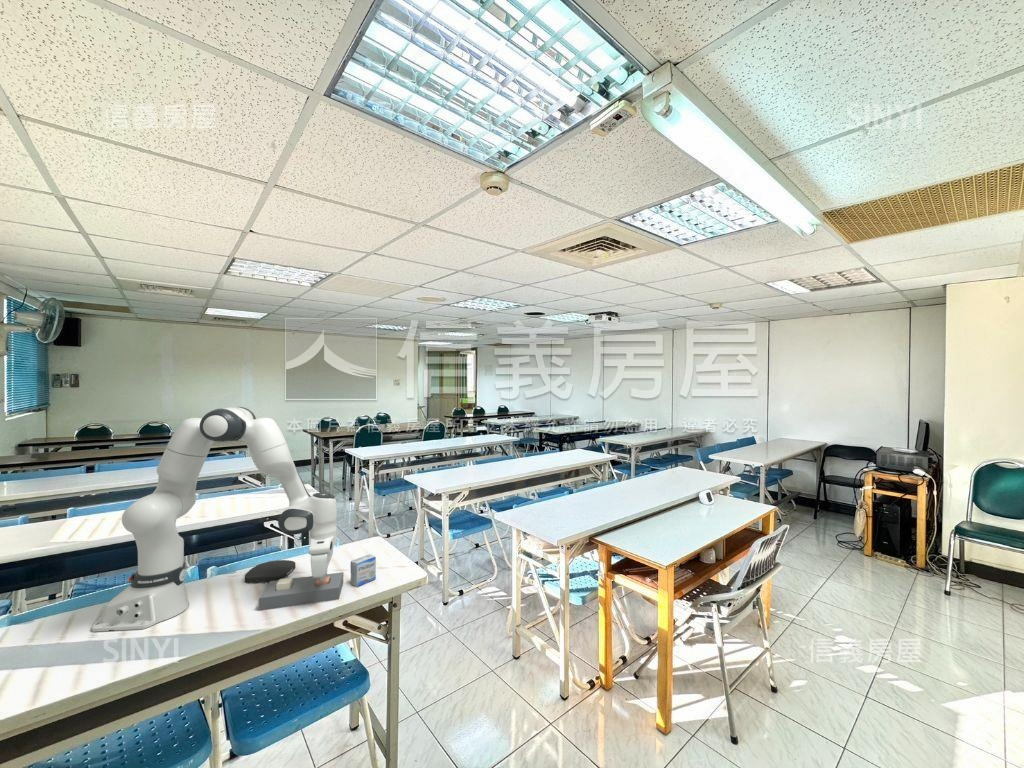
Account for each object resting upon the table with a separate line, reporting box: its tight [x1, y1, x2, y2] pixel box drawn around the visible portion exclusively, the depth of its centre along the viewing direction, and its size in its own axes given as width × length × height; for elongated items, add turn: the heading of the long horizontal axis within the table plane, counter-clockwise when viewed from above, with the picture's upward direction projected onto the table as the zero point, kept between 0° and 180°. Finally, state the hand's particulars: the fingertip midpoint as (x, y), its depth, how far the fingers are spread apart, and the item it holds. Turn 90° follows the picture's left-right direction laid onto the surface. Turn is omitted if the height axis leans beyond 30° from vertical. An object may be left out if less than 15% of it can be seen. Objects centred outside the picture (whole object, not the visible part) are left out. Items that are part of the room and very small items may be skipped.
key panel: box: [258, 571, 344, 612], centre depth 136 cm, size 24×12×4 cm, turn 107°
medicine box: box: [350, 553, 377, 588], centre depth 147 cm, size 8×4×9 cm, turn 143°
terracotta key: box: [316, 576, 330, 586], centre depth 138 cm, size 4×4×3 cm
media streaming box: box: [244, 559, 297, 584], centre depth 153 cm, size 15×15×3 cm
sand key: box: [276, 577, 294, 591], centre depth 135 cm, size 4×4×3 cm
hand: (323, 579), depth 138 cm, fingers closed, pressing on terracotta key
